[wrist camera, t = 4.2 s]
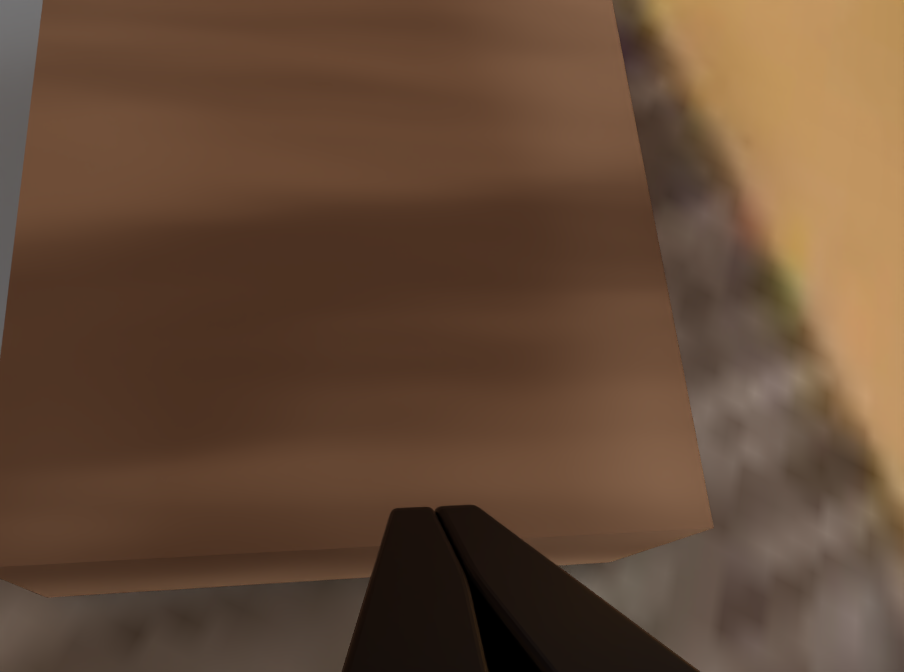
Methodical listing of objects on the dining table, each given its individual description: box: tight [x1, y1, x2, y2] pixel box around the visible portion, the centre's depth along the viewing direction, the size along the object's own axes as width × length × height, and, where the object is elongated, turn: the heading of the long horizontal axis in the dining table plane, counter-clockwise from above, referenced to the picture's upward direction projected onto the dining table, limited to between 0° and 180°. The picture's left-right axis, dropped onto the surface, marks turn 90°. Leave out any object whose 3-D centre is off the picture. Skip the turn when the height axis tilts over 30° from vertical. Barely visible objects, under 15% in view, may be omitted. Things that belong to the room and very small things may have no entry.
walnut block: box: [0, 0, 714, 597], centre depth 15 cm, size 4×10×11 cm
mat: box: [0, 0, 43, 354], centre depth 18 cm, size 12×14×1 cm
